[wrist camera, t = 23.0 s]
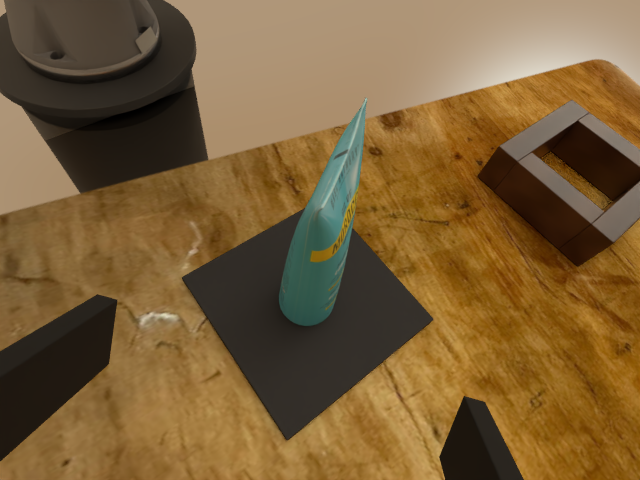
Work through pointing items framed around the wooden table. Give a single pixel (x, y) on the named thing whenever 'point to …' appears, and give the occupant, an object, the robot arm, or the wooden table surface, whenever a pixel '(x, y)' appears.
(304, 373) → the mat
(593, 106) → the wooden table surface
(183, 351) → the wooden table surface
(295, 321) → the tube
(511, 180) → the square wooden frame
